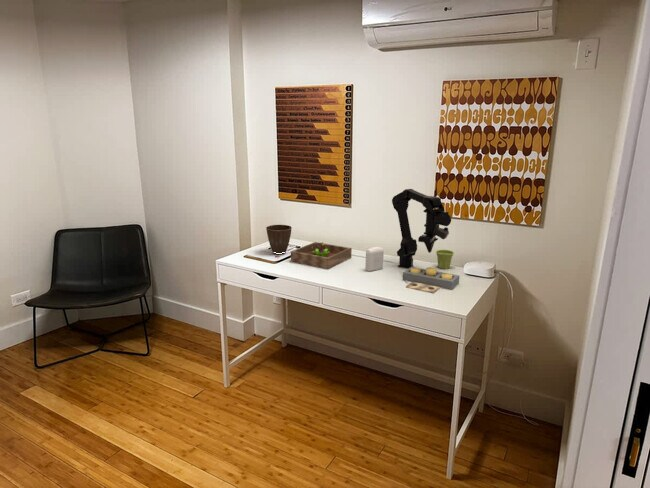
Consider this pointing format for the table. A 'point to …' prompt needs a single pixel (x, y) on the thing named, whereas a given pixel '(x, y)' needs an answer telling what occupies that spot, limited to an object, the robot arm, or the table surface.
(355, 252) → the table surface
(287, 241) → the plant pot
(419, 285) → the card
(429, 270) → the button
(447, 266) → the plant pot
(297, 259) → the brown wooden tray
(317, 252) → the plant
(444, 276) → the button
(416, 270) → the button
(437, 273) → the board
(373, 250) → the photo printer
